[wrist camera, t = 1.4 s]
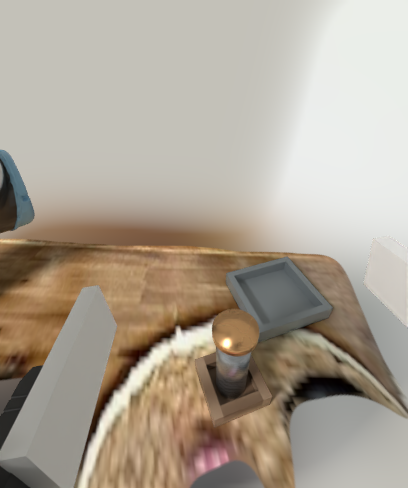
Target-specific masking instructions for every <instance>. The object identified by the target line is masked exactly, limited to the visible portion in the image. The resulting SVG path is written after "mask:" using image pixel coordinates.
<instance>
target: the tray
mask: <svg viewBox="0 0 408 488" xmlns="http://www.w3.org/2000/svg"><path fill="white" fill-rule="evenodd" d="M226 284H227V286H228V288H229V290H230V292H231V293H232V295H233V297H234V299H235V301H236V303H237V304H238V306H239V308H240V310H243V311H245V312H247V313H249V314H250V315H252V316H253V317H254V319H255V320H256V321H257V323H258V326H259V338H258V342H261V341H264V340H267V339H270V338H273V337H275V336H278V335H281V334H284V333H287V332H290V331H292V330H295V329H298V328H301V327H304V326H307V325H310V324H312V323H315V322H318V321H321V320H324V319H327V318H329V315H330V313H331V311H332V309H333V307H332V306H331V305H330V304H329V303H328V302H327V301H326V299H325V298H324V297H323V296H322V295H321V294H320V293H319V292H318V290H317V289H316V288H315V287H314V286H313V285H312V284H311V283H310V281H309V280H308V279H307V278H306V277H305V276H304V275H303V274H302V272H301V271H300V270H299V269H298V268H297V267H296V266H295V265H294V263H293V262H292V261H291V260H290V259H289V258H288V257H284V258H280V259H277V260H273V261H269V262H266V263H262V264H258V265H255V266H251V267H247V268H244V269H240V270H236V271H233V272H229V273H226Z"/></svg>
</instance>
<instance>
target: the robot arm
mask: <svg viewBox="0 0 408 488" xmlns="http://www.w3.org/2000/svg"><path fill="white" fill-rule="evenodd" d="M33 219H34V210H33V206H32V203H31V201H30V198H29V196H28V193H27V190H26V187H25V185H24V182H23V180H22V178H21V176H20V173H19V171H18V169H17V167H16V165H15V163H14V161H13V159H12V158H11V156H10V155H9V154H8V153H7V152H6V151H4V150H0V233H3V232H6V231H13V230H15V229H17V228H18V227H20V226H23V225H26V224H28V223H30V222H31V221H32V220H33ZM363 284H364V285H365V286H366V287H367V288H368V289H369V290H370V291H371V292H372V293H373V294H374V295H375V296H376V297H377V298H378V299H379V300H380V301H381V302H382V303H383V304H384V305H385V306H386V307H387V308H388V309H389V310H390V311H391V312H392V313H393V314H394V315H395V316H396V317H397V318H398V319H399V320H400V321H401V322H402V323H403V324H404V325H405V326H406V327H407V328H408V248H407V247H405V246H404V245H402V244H401V243H399V242H397V241H396V240H395V239H393V238H391V237H390V236H386V237H380V238H374V239H373V242H372V246H371V251H370V256H369V260H368V264H367V269H366V274H365V279H364V283H363ZM116 328H117V325H116V322H115V320H114V318H113V316H112V314H111V311H110V309H109V307H108V305H107V302H106V300H105V298H104V296H103V294H102V291H101V289H100V287H99V285H97V286H91V287H86V288H82V290H81V292H80V294H79V296H78V298H77V300H76V302H75V304H74V306H73V308H72V310H71V312H70V314H69V316H68V318H67V320H66V322H65V324H64V326H63V328H62V330H61V332H60V334H59V336H58V338H57V340H56V342H55V344H54V346H53V348H52V350H51V351H50V353H49V355H48V357H47V359H46V361H45V363H44V365H42V366H36V367H33V368H32V369H31V370H30V371H29V372H28V373H27V374H26V375H25V376H24V377H23V378H22V380H21V381H20V382H19V384H18V386H17V388H16V389H15V391H14V393H13V395H12V397H11V400H9V402H8V403H7V405H6V407H5V409H4V413H3V414H1V416H0V488H73V487H74V484H75V480H76V476H77V473H78V469H79V465H80V462H81V458H82V454H83V450H84V447H85V443H86V439H87V436H88V432H89V428H90V424H91V421H92V417H93V413H94V410H95V406H96V402H97V399H98V395H99V391H100V387H101V384H102V380H103V376H104V373H105V369H106V365H107V361H108V358H109V354H110V350H111V347H112V343H113V339H114V336H115V332H116Z"/></svg>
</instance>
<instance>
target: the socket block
mask: <svg viewBox="0 0 408 488" xmlns="http://www.w3.org/2000/svg"><path fill="white" fill-rule="evenodd" d="M195 366H196V371H197V374H198V377H199V380H200V384H201V387H202V390H203V393H204V396H205V400H206V403H207V406H208V409H209V412H210V416H211V419H212V422H213V425H214V428H215V427H217V426H220V425H222V424H224V423H227V422H229V421H231V420H234V419H236V418H239V417H241V416H243V415H246V414H248V413H251V412H253V411H255V410H258V409H260V408H263V407H265V406H267V405H270V402H271V399H272V395H271V393H270V391H269V389H268V387H267V385H266V383H265V381H264V379H263V377H262V375H261V373H260V371H259V369H258V367H257V365H256V363H255V361H254V359H253V357H252V355H251V358H250V363H249V369H248V375H247V380H246V386H245V390H244V392H243V394H242V395H241V396H239V397H238V398H235V399H229V398H226V397H224V396H223V395H221V393H220V392H219V391H218V389H217V385H216V353H213V354H210V355H207V356H204V357H201V358H198V359H195Z"/></svg>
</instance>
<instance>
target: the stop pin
mask: <svg viewBox="0 0 408 488" xmlns="http://www.w3.org/2000/svg"><path fill="white" fill-rule="evenodd" d="M212 337H213V341H214V343H215V345H216V385H217V389H218V391H219V392H220V393H221V395H223V396H224V397H226V398H229V399H235V398H238V397H239V396H241V395H242V394H243V392H244V390H245V386H246V380H247V375H248V369H249V363H250V358H251V352H252V351H253V350H254V348H255V347H256V345H257V342H258V338H259V326H258V323H257V321H256V320H255V319H254V317H253V316H252V315H250V314H249V313H247V312H245V311H243V310H239V309H229V310H225V311H223V312H221V313H220V314H219V315H217V317H216V318H215V319H214V322H213V325H212Z"/></svg>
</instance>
